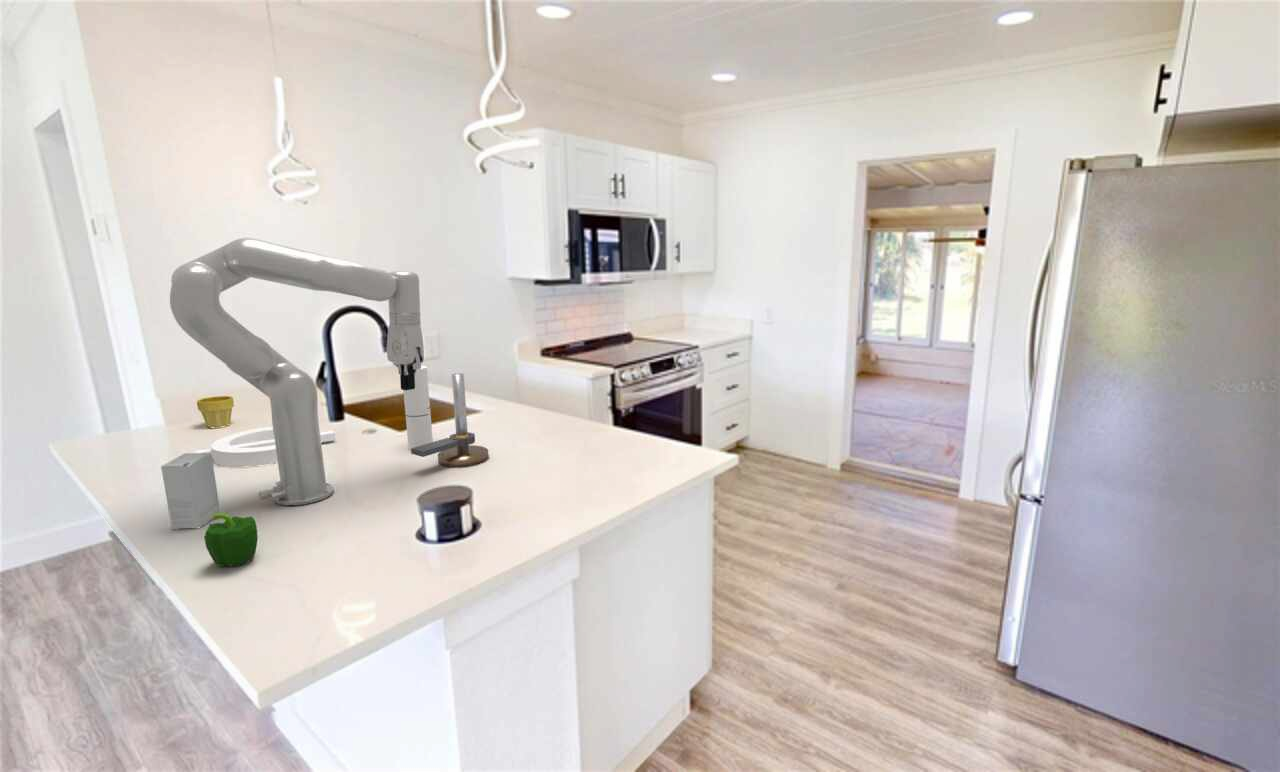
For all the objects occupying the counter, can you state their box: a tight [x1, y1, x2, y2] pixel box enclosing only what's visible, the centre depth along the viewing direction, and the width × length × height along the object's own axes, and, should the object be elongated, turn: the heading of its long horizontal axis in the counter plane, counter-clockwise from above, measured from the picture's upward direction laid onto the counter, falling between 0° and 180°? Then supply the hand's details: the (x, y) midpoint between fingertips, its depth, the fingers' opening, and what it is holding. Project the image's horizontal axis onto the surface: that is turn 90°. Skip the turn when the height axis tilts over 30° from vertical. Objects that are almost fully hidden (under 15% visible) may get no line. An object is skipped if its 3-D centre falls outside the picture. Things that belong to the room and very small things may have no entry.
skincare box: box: [160, 452, 221, 530], centre depth 131 cm, size 8×6×15 cm
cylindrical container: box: [403, 365, 434, 451], centre depth 182 cm, size 7×7×25 cm
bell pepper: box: [203, 513, 258, 567], centre depth 114 cm, size 8×8×10 cm
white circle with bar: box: [194, 426, 336, 468], centre depth 181 cm, size 28×28×5 cm
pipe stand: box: [437, 372, 490, 468], centre depth 171 cm, size 14×14×25 cm
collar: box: [410, 431, 476, 458], centre depth 167 cm, size 18×7×2 cm, turn 145°
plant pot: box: [196, 395, 235, 428], centre depth 209 cm, size 10×10×10 cm
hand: (407, 389), depth 159 cm, fingers closed
